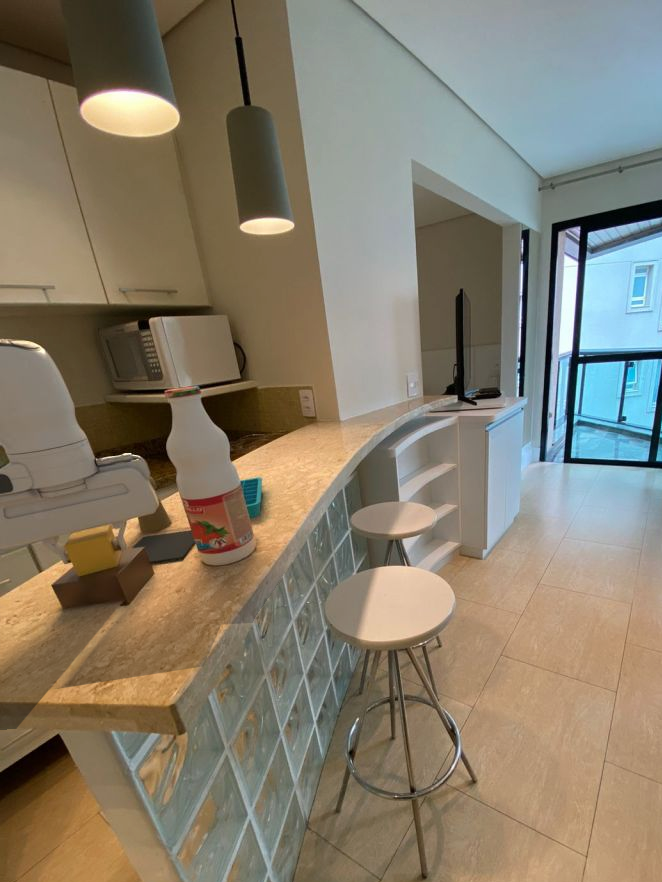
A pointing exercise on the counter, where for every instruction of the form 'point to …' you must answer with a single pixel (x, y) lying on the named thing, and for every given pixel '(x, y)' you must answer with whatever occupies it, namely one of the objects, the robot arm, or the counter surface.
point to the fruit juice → (207, 481)
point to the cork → (154, 517)
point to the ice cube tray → (252, 495)
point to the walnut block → (106, 582)
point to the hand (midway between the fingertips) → (96, 555)
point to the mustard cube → (92, 550)
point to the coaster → (167, 546)
